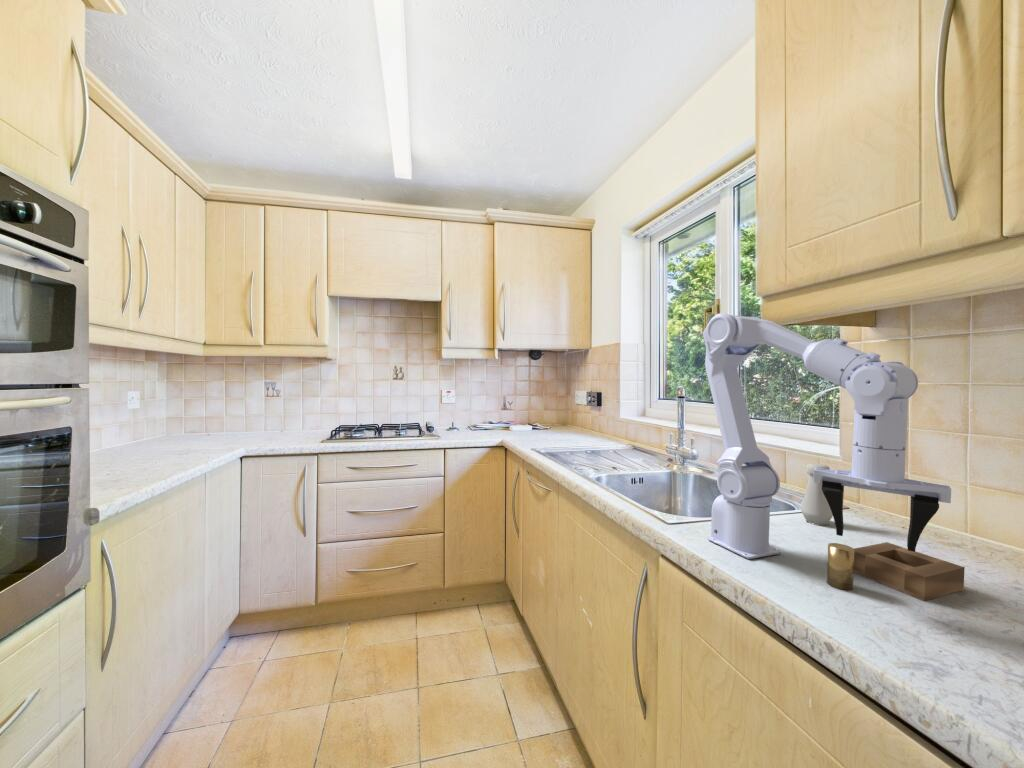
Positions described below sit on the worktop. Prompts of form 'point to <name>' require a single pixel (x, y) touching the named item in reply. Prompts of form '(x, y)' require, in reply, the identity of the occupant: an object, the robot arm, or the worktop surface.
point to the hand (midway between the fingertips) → (873, 541)
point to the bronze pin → (840, 566)
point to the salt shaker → (815, 499)
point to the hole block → (908, 571)
